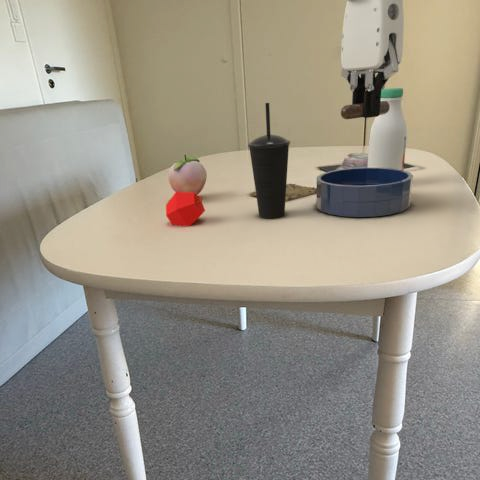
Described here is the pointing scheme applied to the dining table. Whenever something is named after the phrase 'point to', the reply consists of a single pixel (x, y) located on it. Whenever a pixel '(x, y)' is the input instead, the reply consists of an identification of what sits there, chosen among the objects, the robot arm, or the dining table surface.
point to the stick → (361, 110)
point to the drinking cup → (270, 171)
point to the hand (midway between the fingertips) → (365, 115)
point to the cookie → (296, 192)
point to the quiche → (354, 163)
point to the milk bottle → (388, 134)
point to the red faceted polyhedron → (184, 208)
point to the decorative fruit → (187, 176)
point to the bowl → (364, 191)
